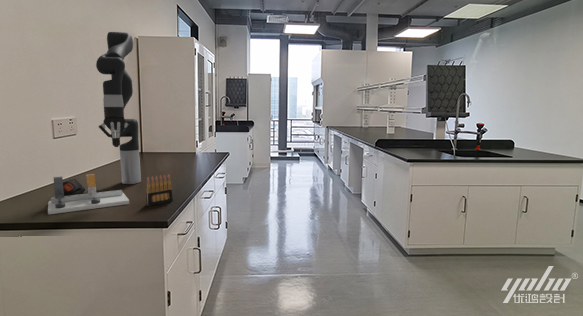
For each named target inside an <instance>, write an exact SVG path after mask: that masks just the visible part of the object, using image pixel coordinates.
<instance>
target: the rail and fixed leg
mask: <svg viewBox="0 0 583 316" xmlns="http://www.w3.org/2000/svg"><path fill="white" fill-rule="evenodd" d="M63 179H64V178H63V176H53V185H54V186H53V188H54V197H50V201H51V204H52V203H62V202H69V201H78V200H86V199H92V194H88V193H81V194H79V195H70V196H64V190H63V182H64V180H63ZM122 193H123V190H122V189H117V190H108V191H107V190H106V191H100V192H97V191H96V193H95V198H103V197H112V196H120V195H122Z"/></svg>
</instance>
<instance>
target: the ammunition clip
mask: <svg viewBox="0 0 583 316" xmlns="http://www.w3.org/2000/svg"><path fill="white" fill-rule="evenodd" d="M171 181H172V180H171V175H170V173H167V176H166V174H165V173H164V174H163V177H162V175H161V174H159V178H158V175H155V177H154V176H153V175H151V178H150V177H149V176H147V178H146V194H145V195H146V198H145V199H146V201H145V203H146V205H147V206H149V207H150V206H155V205H161V204H165V203H166V204H167V203H171V202H173V201H174V197H173V189H172V182H171Z"/></svg>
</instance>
